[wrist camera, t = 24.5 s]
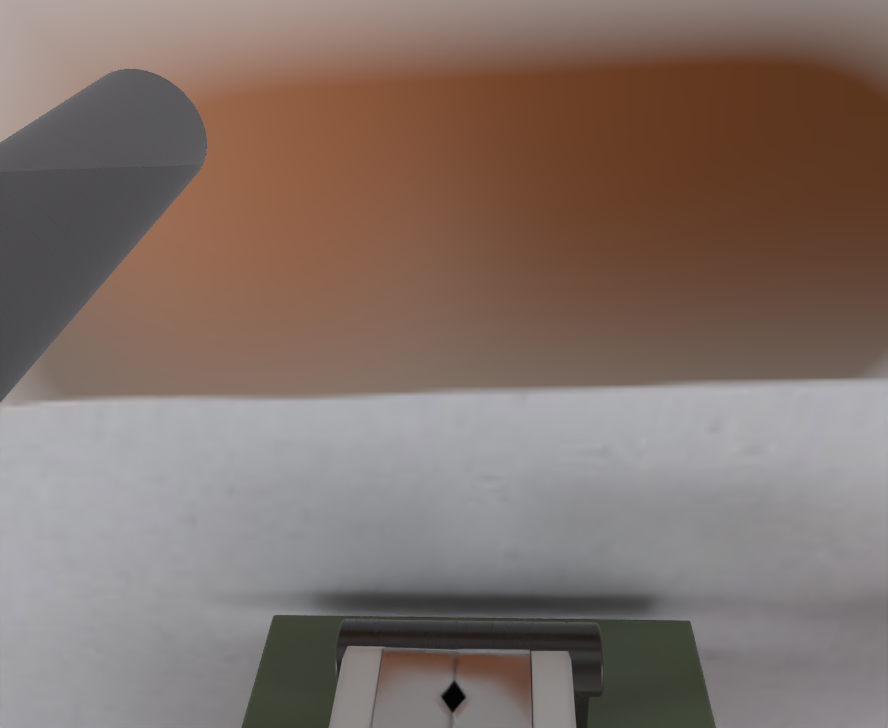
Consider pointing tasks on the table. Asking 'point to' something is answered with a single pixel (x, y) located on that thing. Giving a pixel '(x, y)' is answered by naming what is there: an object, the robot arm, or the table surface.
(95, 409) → the table surface
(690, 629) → the drawer
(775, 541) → the table surface
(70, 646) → the table surface
